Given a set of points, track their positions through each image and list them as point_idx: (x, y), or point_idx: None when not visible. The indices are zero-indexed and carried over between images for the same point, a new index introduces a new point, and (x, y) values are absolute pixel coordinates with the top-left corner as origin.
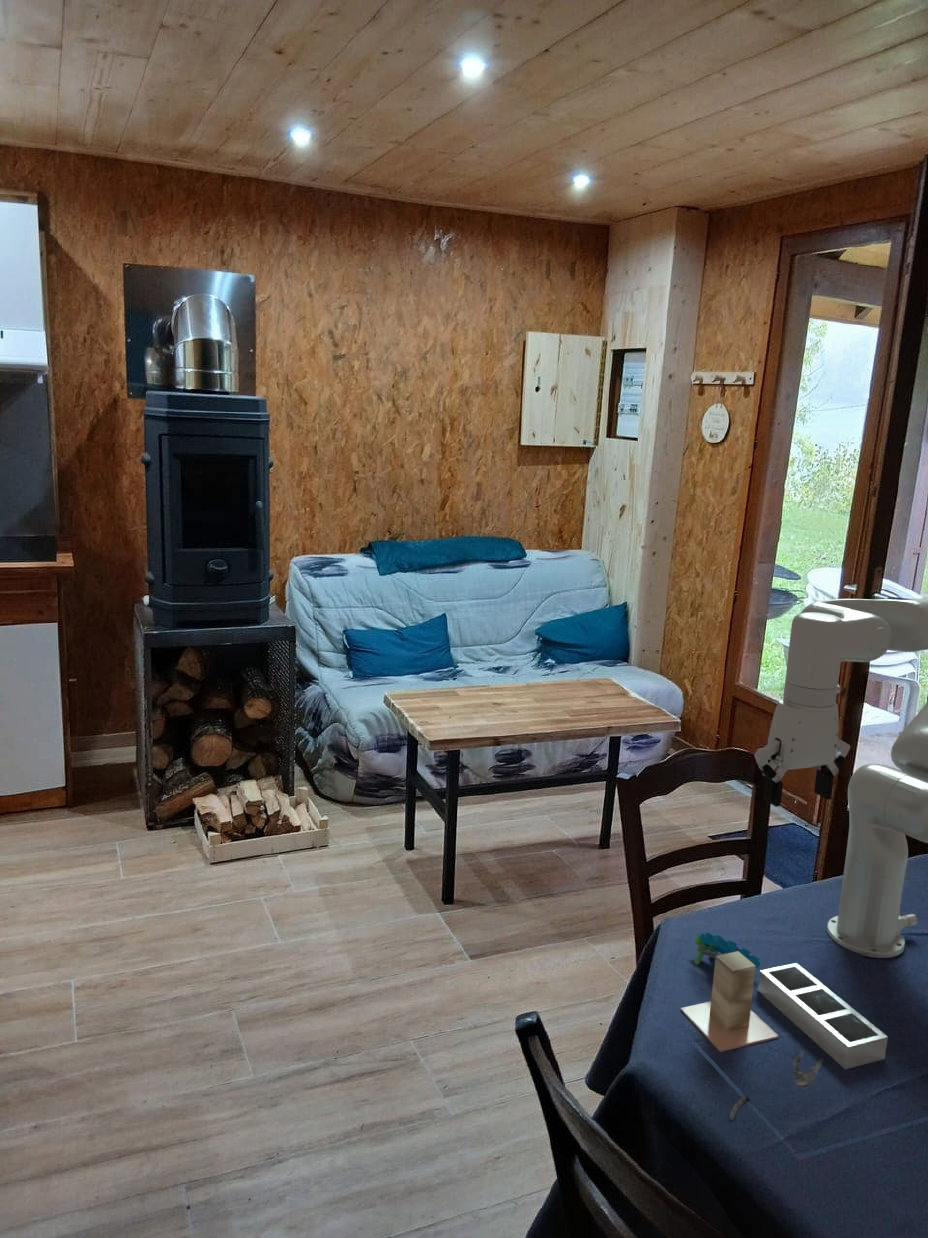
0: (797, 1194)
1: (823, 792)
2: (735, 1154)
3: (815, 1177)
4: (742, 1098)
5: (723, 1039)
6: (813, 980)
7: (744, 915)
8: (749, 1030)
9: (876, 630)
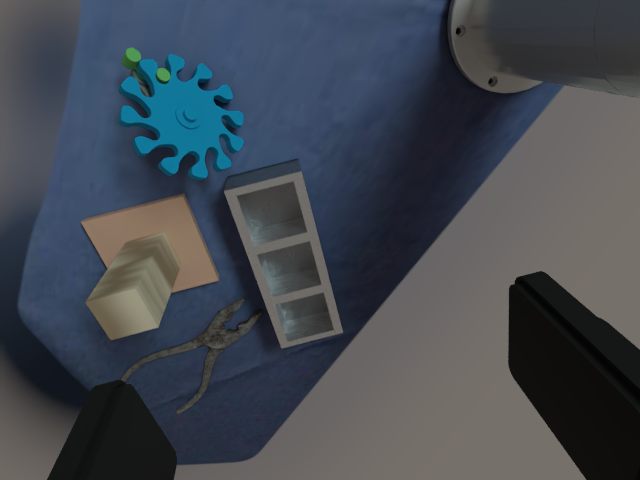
0: None
1: (527, 368)
2: None
3: (187, 431)
4: (140, 363)
5: None
6: (306, 221)
7: None
8: (180, 271)
9: None
